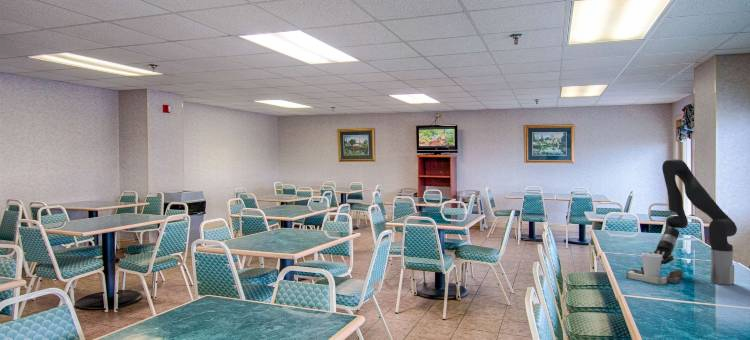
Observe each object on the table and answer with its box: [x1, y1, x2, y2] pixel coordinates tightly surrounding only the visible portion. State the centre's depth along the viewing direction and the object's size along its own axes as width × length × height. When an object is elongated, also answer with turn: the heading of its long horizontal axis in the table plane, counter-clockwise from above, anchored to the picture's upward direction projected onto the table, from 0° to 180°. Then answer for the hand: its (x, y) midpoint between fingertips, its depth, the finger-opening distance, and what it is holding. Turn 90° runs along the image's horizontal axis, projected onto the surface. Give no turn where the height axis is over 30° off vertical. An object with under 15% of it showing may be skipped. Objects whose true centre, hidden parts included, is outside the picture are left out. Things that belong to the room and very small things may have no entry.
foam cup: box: [641, 252, 662, 278], centre depth 255 cm, size 10×9×13 cm
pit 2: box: [665, 275, 681, 285], centre depth 248 cm, size 6×6×2 cm
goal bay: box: [625, 271, 668, 285], centre depth 252 cm, size 18×6×3 cm, turn 34°
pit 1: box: [627, 268, 643, 275], centre depth 263 cm, size 6×6×2 cm
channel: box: [640, 266, 683, 279], centre depth 261 cm, size 17×10×4 cm, turn 34°
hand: (655, 268), depth 258 cm, fingers closed
